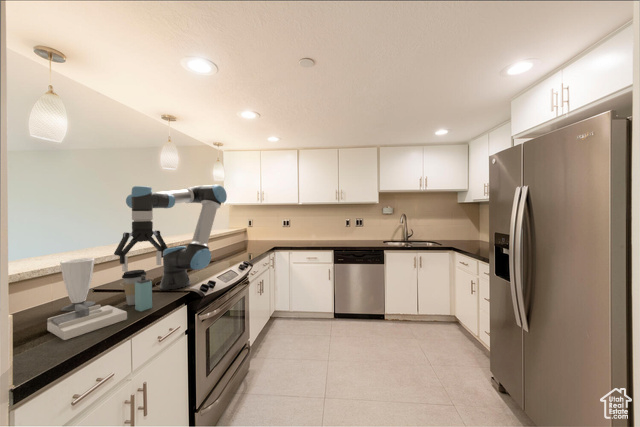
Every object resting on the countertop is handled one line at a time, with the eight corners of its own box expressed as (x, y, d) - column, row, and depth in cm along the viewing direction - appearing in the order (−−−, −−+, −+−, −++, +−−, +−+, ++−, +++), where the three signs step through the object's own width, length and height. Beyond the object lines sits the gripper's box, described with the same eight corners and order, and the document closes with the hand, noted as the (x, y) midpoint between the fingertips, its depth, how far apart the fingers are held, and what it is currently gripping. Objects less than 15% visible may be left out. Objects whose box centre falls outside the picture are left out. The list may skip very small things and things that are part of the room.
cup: (52, 312, 105) (52, 263, 105) (74, 302, 116) (73, 258, 116) (83, 310, 107) (82, 261, 107) (101, 300, 118) (101, 257, 118)
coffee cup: (133, 307, 109) (132, 274, 109) (116, 305, 111) (116, 273, 111) (151, 299, 119) (151, 269, 119) (136, 298, 121) (135, 269, 121)
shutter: (79, 313, 95) (79, 303, 95) (89, 317, 91) (89, 307, 91) (51, 321, 88) (51, 311, 88) (60, 326, 84) (60, 315, 84)
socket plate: (108, 312, 104) (108, 301, 104) (127, 319, 97) (126, 308, 97) (47, 330, 88) (47, 318, 88) (64, 340, 81) (64, 327, 81)
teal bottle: (146, 305, 111) (146, 273, 111) (152, 307, 109) (151, 274, 109) (135, 309, 107) (134, 275, 107) (140, 311, 105) (140, 277, 105)
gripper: (166, 220, 120) (166, 262, 120) (103, 221, 98) (104, 273, 98) (175, 220, 117) (175, 263, 117) (112, 221, 95) (112, 275, 95)
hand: (142, 268), depth 108 cm, fingers open, 13 cm apart
